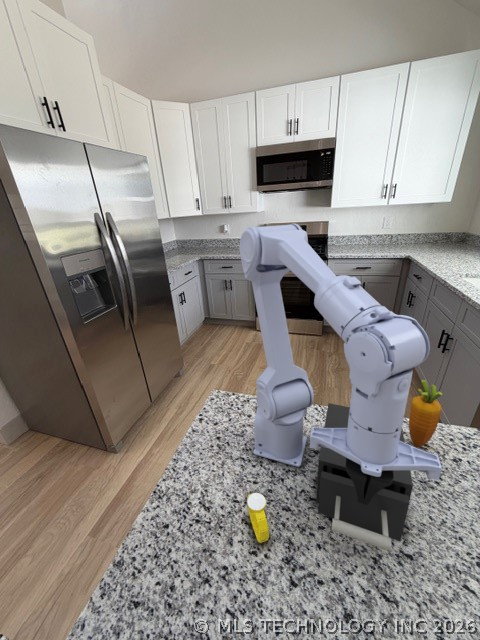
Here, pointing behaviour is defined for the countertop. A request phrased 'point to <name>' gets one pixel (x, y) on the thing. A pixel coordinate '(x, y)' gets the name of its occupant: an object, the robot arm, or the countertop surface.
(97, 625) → the countertop surface
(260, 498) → the watch
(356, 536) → the dark gray drawer
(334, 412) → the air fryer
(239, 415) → the countertop surface
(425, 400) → the carrot
